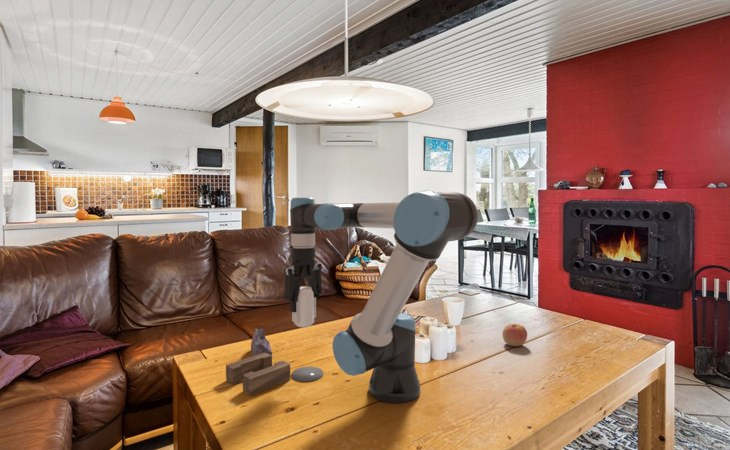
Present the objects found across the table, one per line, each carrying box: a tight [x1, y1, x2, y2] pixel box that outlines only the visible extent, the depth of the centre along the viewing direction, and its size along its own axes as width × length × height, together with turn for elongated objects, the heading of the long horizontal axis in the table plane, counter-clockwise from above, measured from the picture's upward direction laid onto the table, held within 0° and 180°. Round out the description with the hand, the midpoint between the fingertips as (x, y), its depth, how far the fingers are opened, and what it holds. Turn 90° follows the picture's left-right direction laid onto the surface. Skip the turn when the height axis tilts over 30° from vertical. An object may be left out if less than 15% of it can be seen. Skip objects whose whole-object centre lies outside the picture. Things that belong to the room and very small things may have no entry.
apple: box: [502, 323, 528, 347], centre depth 156 cm, size 9×9×8 cm
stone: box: [250, 327, 273, 357], centre depth 143 cm, size 10×6×15 cm
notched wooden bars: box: [225, 352, 291, 397], centre depth 125 cm, size 14×14×5 cm
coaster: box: [291, 366, 324, 383], centre depth 129 cm, size 10×10×1 cm
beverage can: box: [293, 285, 315, 328], centre depth 127 cm, size 6×6×12 cm
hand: (304, 319), depth 127 cm, fingers closed on beverage can, 6 cm apart
